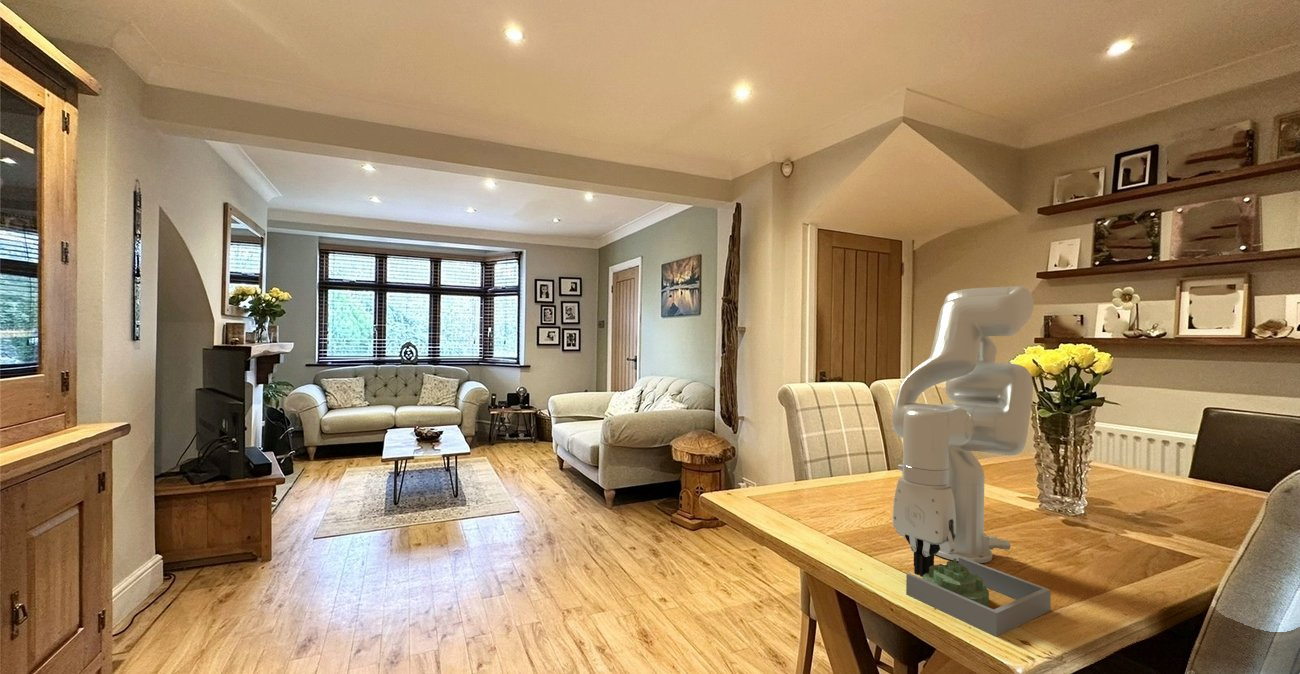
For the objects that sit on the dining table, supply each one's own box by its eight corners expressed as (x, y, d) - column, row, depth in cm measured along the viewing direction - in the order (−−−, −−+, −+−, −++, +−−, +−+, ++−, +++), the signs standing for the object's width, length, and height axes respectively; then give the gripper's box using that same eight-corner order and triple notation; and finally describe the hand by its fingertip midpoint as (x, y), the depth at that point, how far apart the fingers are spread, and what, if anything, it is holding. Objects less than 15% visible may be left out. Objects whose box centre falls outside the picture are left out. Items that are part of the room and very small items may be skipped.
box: (906, 594, 91) (906, 574, 91) (960, 575, 99) (961, 556, 99) (996, 636, 78) (996, 613, 78) (1050, 610, 86) (1050, 589, 86)
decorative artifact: (997, 619, 84) (978, 591, 93) (997, 575, 84) (979, 552, 93) (928, 608, 87) (917, 582, 96) (928, 566, 87) (917, 544, 96)
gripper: (877, 468, 101) (875, 562, 101) (952, 488, 88) (951, 596, 88) (901, 465, 105) (900, 555, 105) (978, 483, 92) (976, 587, 92)
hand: (923, 574), depth 96 cm, fingers closed
